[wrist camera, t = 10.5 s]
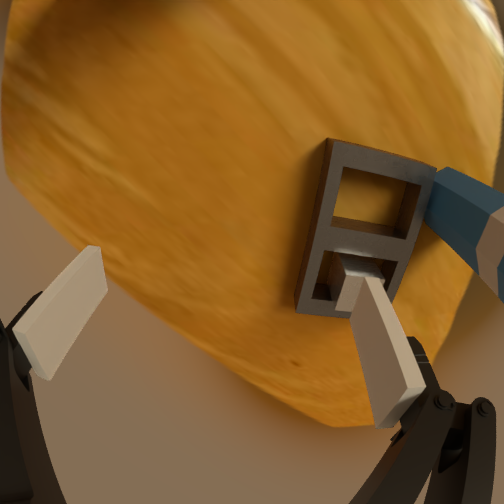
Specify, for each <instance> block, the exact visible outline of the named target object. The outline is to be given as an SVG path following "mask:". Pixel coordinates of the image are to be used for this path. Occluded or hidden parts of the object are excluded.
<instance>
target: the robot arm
mask: <svg viewBox="0 0 504 504" xmlns="http://www.w3.org/2000/svg"><path fill="white" fill-rule="evenodd" d="M107 292H108V288H107V283H106V278H105V272H104V267H103V261H102V255H101V249H100V247H98V246H90V245H88V246H87V247H86V248H85V249H84V250H83V251H82V252H81V253H80V254H79V255H78V256H77V257H76V258H75V259H74V260H73V261H72V262H71V263H70V264H69V265H68V266H67V267H66V268H65V269H64V270H63V271H62V272H61V273H60V274H59V276H58V277H57V278H56V279H55V280H54V281H53V282H52V283H51V284H50V285H49V286H48V287H47V288H46V290H45V291H44V292H43V291H41V292H39V293H38V294H36V295H34V296H33V297H32V298H31V299H30V300H29V301H28V302H27V303H26V305H25V306H24V307H23V308H22V309H21V311H20V312H19V313H18V314H17V315H16V316H15V317H14V319H13V320H12V321H11V322H10V323H9V325H8V326H7V327H6V328H4V326H3V323H2V321H1V319H0V504H67V503H66V501H65V499H64V496H63V494H62V491H61V489H60V486H59V483H58V481H57V478H56V475H55V473H54V469H53V466H52V464H51V460H50V457H49V454H48V450H47V447H46V444H45V440H44V436H43V433H42V429H41V425H40V420H39V416H38V411H37V407H36V402H35V397H34V392H33V385H32V379H31V376H30V374H29V370H30V369H31V368H33V370H34V371H35V373H36V375H37V376H39V377H41V378H43V379H46V380H48V381H50V380H51V379H52V377H53V375H54V373H55V372H56V370H57V368H58V367H59V365H60V363H61V361H62V360H63V358H64V357H65V355H66V354H67V352H68V350H69V349H70V347H71V346H72V344H73V342H74V341H75V339H76V338H77V336H78V335H79V333H80V331H81V330H82V328H83V327H84V325H85V324H86V322H87V321H88V319H89V318H90V316H91V315H92V313H93V312H94V310H95V309H96V307H97V306H98V305H99V303H100V302H101V300H102V299H103V297H104V296H105V295H106V293H107ZM350 324H351V327H352V331H353V335H354V338H355V342H356V346H357V350H358V354H359V357H360V361H361V365H362V369H363V373H364V377H365V382H366V386H367V390H368V394H369V399H370V403H371V408H372V412H373V417H374V422H375V427H376V429H381V428H391V427H394V425H395V424H396V423H397V422H398V421H399V420H400V423H401V426H402V427H401V429H400V430H399V431H398V432H397V433H396V434H395V435H394V436H393V437H392V438H391V439H390V440H391V441H392V442H391V444H390V446H389V447H388V449H387V450H386V452H385V454H384V455H383V457H382V458H381V460H380V461H379V463H378V464H377V466H376V467H375V469H374V470H373V472H372V473H371V475H370V476H369V478H368V479H367V480H366V482H365V483H364V484H363V486H362V487H361V488H360V490H359V491H358V492H357V494H356V495H355V496H354V498H353V499H352V500H351V501H350V503H349V504H414V502H415V501H416V499H417V497H418V495H419V493H420V492H421V490H422V488H423V486H424V484H425V482H426V480H427V478H428V476H429V474H430V472H431V470H432V473H431V477H430V482H429V486H428V490H427V493H426V497H425V501H424V504H491V497H492V490H493V481H494V471H495V456H496V411H495V407H494V406H493V404H492V403H491V402H490V401H489V400H488V399H486V398H483V397H479V398H476V399H475V400H474V401H473V402H472V404H464V403H458V402H455V399H454V398H453V396H452V395H451V394H449V393H448V392H447V391H444V390H441V389H440V387H439V384H438V381H437V379H436V377H435V374H434V372H433V369H432V367H431V365H430V363H429V360H428V358H427V356H426V353H425V351H424V349H423V347H422V345H421V344H420V342H419V341H418V340H417V339H416V338H415V337H406V336H405V333H404V331H403V329H402V326H401V324H400V322H399V320H398V318H397V315H396V313H395V311H394V309H393V307H392V305H391V303H390V300H389V298H388V296H387V294H386V292H385V290H384V288H383V286H382V284H381V282H380V280H379V278H374V277H364V279H363V282H362V285H361V288H360V291H359V294H358V297H357V300H356V303H355V306H354V309H353V311H352V314H351V317H350Z"/></svg>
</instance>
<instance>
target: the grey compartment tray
mask: <svg viewBox="0 0 504 504" xmlns="http://www.w3.org/2000/svg"><path fill="white" fill-rule="evenodd" d="M343 166H344V167H349V168H354V169H358V170H363V171H367V172H371V173H376V174H380V175H384V176H388V177H392V178H396V179H400V180H404V181H407V185H406V189H405V193H404V197H403V200H402V204H401V208H400V211H399V215H398V218H397V221H396V225H395V227H390V226H385V225H380V224H375V223H370V222H364V221H359V220H353V219H348V218H342V217H336V216H333V212H334V208H335V203H336V199H337V194H338V190H339V185H340V180H341V175H342V171H343ZM436 171H437V168H435V167H433V166H431V165H428V164H426V163H424V162H421V161H418V160H415V159H411V158H408V157H405V156H401V155H398V154H394V153H390V152H387V151H383V150H379V149H375V148H371V147H367V146H363V145H359V144H355V143H351V142H346V141H342V140H337V139H332V138H327V143H326V148H325V154H324V159H323V165H322V170H321V175H320V180H319V185H318V190H317V195H316V200H315V205H314V210H313V215H312V219H311V224H310V229H309V233H308V238H307V242H306V247H305V251H304V256H303V260H302V264H301V269H300V273H299V277H298V281H297V285H296V290H295V294H294V300H295V311H296V313H302V314H311V315H320V316H330V317H340V318H350V317H351V314H352V312H348V311H338V310H335V309H334V305H333V301H332V297H331V294H330V290H329V286H328V285H327V284H319V283H316V279H317V276H318V272H319V268H320V265H321V261H322V257H323V253H324V250H328V251H334V252H341V253H347V254H354V255H360V256H367V257H373V258H380V259H384V262H383V265H382V268H381V273H382V275H383V277H384V278H385V282H384V285H383V288H384V290H385V292H386V294H387V296H388V298H389V300H390V303H391V304H392V302H393V300H394V297H395V295H396V292H397V290H398V288H399V285H400V283H401V280H402V278H403V275H404V272H405V270H406V267H407V265H408V262H409V259H410V256H411V254H412V251H413V248H414V245H415V242H416V239H417V236H418V233H419V230H420V227H421V224H422V221H423V218H424V214H425V211H426V208H427V204H428V201H429V197H430V194H431V190H432V186H433V182H434V179H435V175H436Z"/></svg>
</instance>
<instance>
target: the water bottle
mask: <svg viewBox="0 0 504 504" xmlns="http://www.w3.org/2000/svg"><path fill="white" fill-rule="evenodd" d="M424 219H425V223H426V224H427V225H428V226H429V227H430V228H431V229H432V230H433V231H434V232H435V233H436V234H438V235H439V236H440V237H441V238H442V239H443V240H444V241H445V242H446V243H447V244H448V245H449V246H450V247H451V248H452V249H453V250H454V251H455V252H456V253H457V254H458V255H459V256H460V257H461V258H462V259H463V260H464V261H465V262H466V263H467V264H468V265H469V266H470V267H471V268H472V269H473V270H474V271H475V272H476V273H477V274H478V275H479V276H480V277H481V278H482V279H483V280H484V282H485V283H486V284H487V285H488V286H489V287H490V288H491V289H492V291H493V292H494V293H495V294H496V295H497V296H498V297H499V298H500V300H501V301H502V302H503V303H504V194H503V193H501V192H499V191H497V190H495V189H493V188H491V187H490V186H488V185H486V184H484V183H482V182H480V181H478V180H476V179H474V178H471V177H469V176H467V175H465V174H463V173H461V172H459V171H456V170H454V169H452V168H450V167H446V168H444V169H442V170H440V171H438V172H437V173H436V175H435V179H434V182H433V186H432V190H431V194H430V197H429V201H428V204H427V208H426V211H425V214H424Z"/></svg>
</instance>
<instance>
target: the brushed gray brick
mask: <svg viewBox="0 0 504 504" xmlns="http://www.w3.org/2000/svg"><path fill="white" fill-rule="evenodd" d="M364 277H374V278H379V280H380V282H381V284H382V286H383V285H384V282H385V278H384V277H383V275H382V273H381V271H380V270H379V268H378V266H377V264H376V263H375V261H374V259H373V258H372V257H367V256H360V255H354V254H347V253H341V252H334V255H333V259H332V262H331V266H330V270H329V273H328V277H327V283H328V286H329V290H330V294H331V297H332V301H333V305H334V309H335V310H338V311H348V312H352V311H353V309H354V306H355V303H356V300H357V297H358V294H359V291H360V288H361V285H362V282H363V279H364Z"/></svg>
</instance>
